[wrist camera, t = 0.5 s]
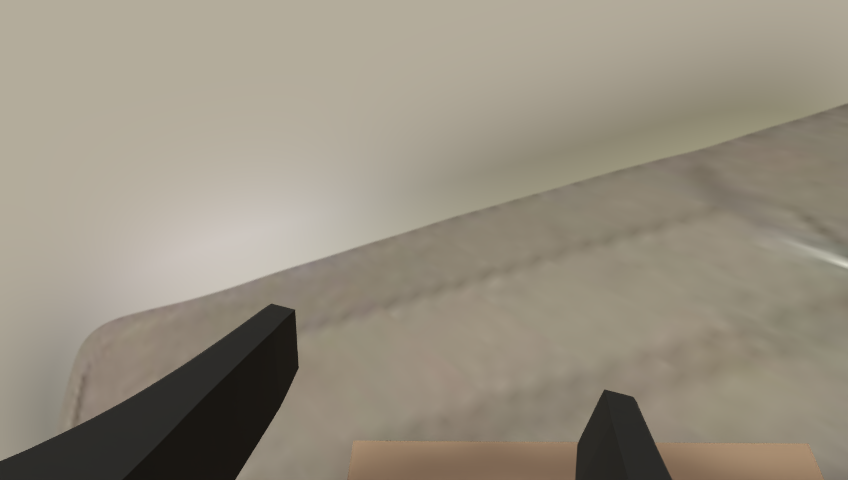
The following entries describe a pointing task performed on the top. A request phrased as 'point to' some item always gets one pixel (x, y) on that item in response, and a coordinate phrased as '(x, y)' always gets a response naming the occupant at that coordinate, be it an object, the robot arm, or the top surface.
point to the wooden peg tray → (571, 461)
